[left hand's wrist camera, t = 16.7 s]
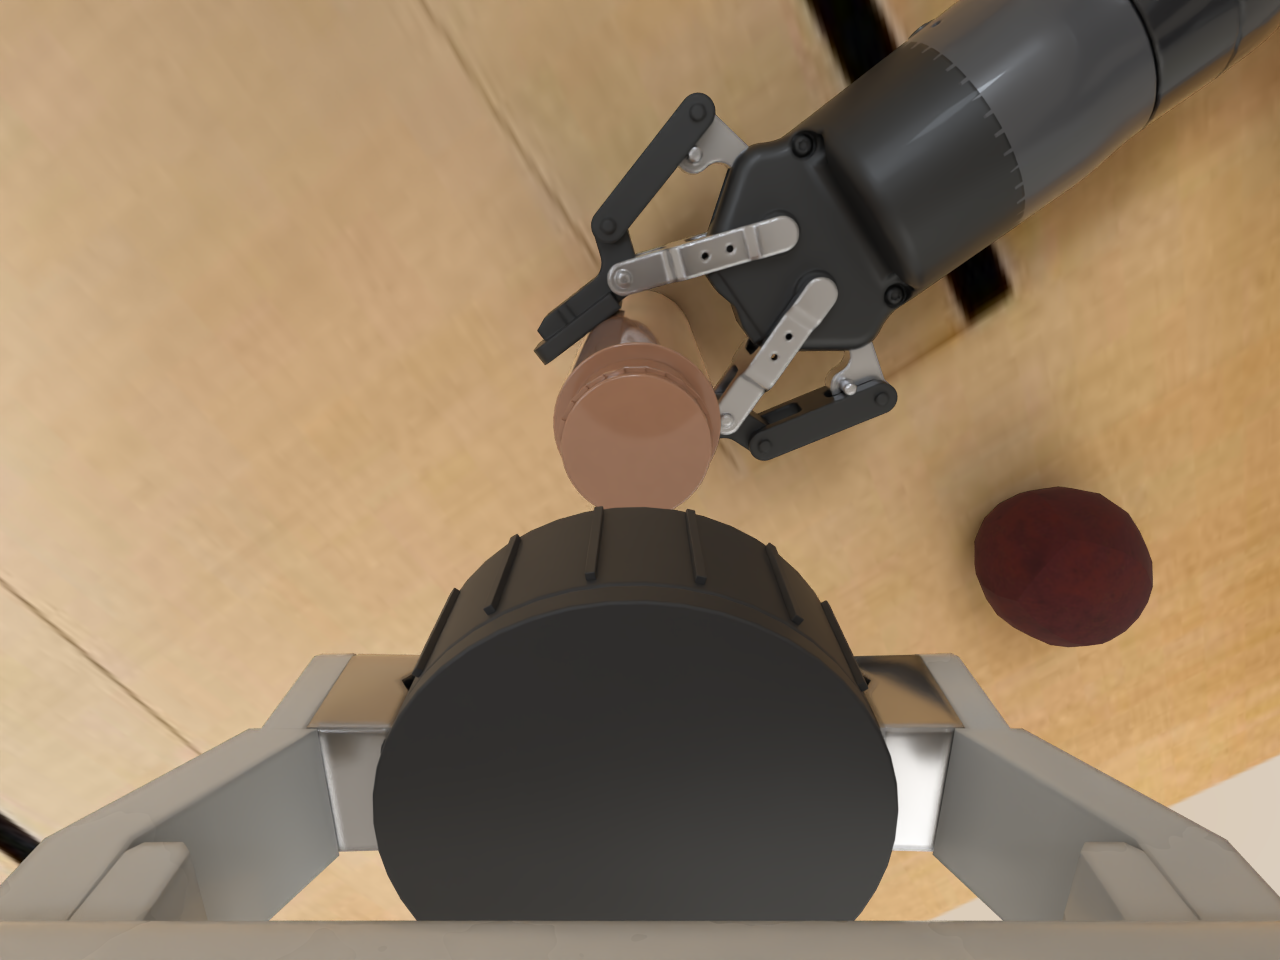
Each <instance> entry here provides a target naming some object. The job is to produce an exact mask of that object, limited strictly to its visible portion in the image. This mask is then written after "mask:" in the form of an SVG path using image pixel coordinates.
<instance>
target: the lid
mask: <svg viewBox="0 0 1280 960" xmlns="http://www.w3.org/2000/svg"><path fill="white" fill-rule="evenodd" d="M412 675H414V676H416V677H415V679H414V681H413V683H412V685H411V687H410V689H409V691H408V693H407V696H406V698H405V700H404V702H403V704H402V706H401V708H400V710H399V712H398V715H397V717H396V719H395V721H394V723H393V725H392V727H391V729H390V731H389V733H388V736H387V738H386V740H385V742H383V743H382V746H381V752H380V753H381V755H380V758H379V761H378V764H377V767H376V774H375V781H374V788H373V824H374V830H375V835H376V840H377V845H378V850H379V853H380V856H381V858H382V861H383V864H384V867H385V869H386V872H387V875H388V877H389V879H390V881H391V882H392V884H393V886H394V888H395V890H396V891H397V893H398V895H399V897H400V899H401V900H402V902H403V903H404V904H405V906H406V907H407V908H408V910H409V911H410V912H411V914H412V915H413V916H414V917H415V919H416V920H417V921H854V920H855V919H856V918H857V917H858V916H859V915H860V913H861V912H862V911H863V909H864V908H865V906H866V905H867V903H868V902H869V900H870V899H871V897H872V896H873V894H874V893H875V891H876V889H877V887H878V885H879V883H880V881H881V879H882V877H883V874H884V872H885V870H886V868H887V866H888V863H889V859H890V856H891V852H892V849H893V845H894V842H895V837H896V828H897V820H898V811H899V810H898V790H897V780H896V776H895V772H894V767H893V763H892V758H891V755H890V752H889V750H888V747H887V745H886V743H885V740H884V738H883V735H882V733H881V730H880V728H879V726H878V724H877V721H876V719H875V717H874V715H873V713H872V711H871V709H870V706H869V704H868V702H867V700H866V697H865V695H864V693H863V691H865V690H867V689H869V688H868V685H867V683H866V681H865V679H864V677H863V675H862V673H861V671H860V669H859V666H858V664H857V662H856V660H855V658H854V656H853V654H852V652H851V649H850V647H849V645H848V643H847V641H846V639H845V637H844V635H843V632H842V630H841V628H840V626H839V624H838V622H837V620H836V618H835V615H834V613H833V611H832V609H831V607H830V605H829V603H828V602H827V601H824V602H822V603H821V602H820V601H819V599H818V597H817V596H816V594H815V592H814V591H813V590H812V589H811V587H810V586H809V585H808V584H807V582H806V581H805V580H804V579H803V578H802V576H801V575H800V574H799V573H798V572H797V571H796V570H795V569H794V568H793V567H792V566H791V565H790V564H788V563H787V562H786V561H785V560H784V559H783V558H782V557H781V556H780V555H779V554H778V552H777V550H776V547H775V546H774V545H772V544H771V543H768V544H767V546H766V545H764V544H763V543H761V542H760V541H758V540H757V539H755V538H753V537H751V536H749V535H747V534H745V533H744V532H742V531H740V530H738V529H736V528H734V527H732V526H729V525H727V524H724V523H721V522H718V521H715V520H713V519H710V518H707V517H704V516H700V515H696V514H695V511H694V510H690V509H687V510H686V512H682V511H678V510H672V509H661V508H651V507H622V508H609V509H603V506H599V507H595V508H594V511H589V512H584V513H580V514H577V515H573V516H569V517H566V518H562V519H559V520H556V521H553V522H551V523H549V524H546V525H544V526H541V527H539V528H537V529H534V530H532V531H530V532H528V533H526V534H525V535H523V536H521V537H519V535H518V534H516V535H514V536H513V537H511V538H510V541H509V543H508V545H506V546H505V547H503V548H502V549H501V550H500V551H498V552H497V553H496V554H494V555H493V556H492V557H491V558H489V559H488V560H487V561H485V562H484V564H483V565H482V566H481V567H480V568H479V569H478V570H477V571H476V572H475V573H474V574H473V575H472V576H471V577H470V578H469V579H468V580H467V581H466V583H465V584H464V585H463V587H462V588H461V590H460V591H459V590H458V589H456V588H454V589H453V590H452V592H451V593H450V595H449V597H448V599H447V602H446V604H445V606H444V608H443V610H442V612H441V614H440V616H439V618H438V620H437V622H436V624H435V626H434V628H433V630H432V632H431V634H430V636H429V638H428V641H427V643H426V645H425V647H424V649H423V651H422V653H421V655H420V657H419V659H418V661H417V663H416V665H415V667H414V669H413V671H412Z"/></svg>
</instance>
